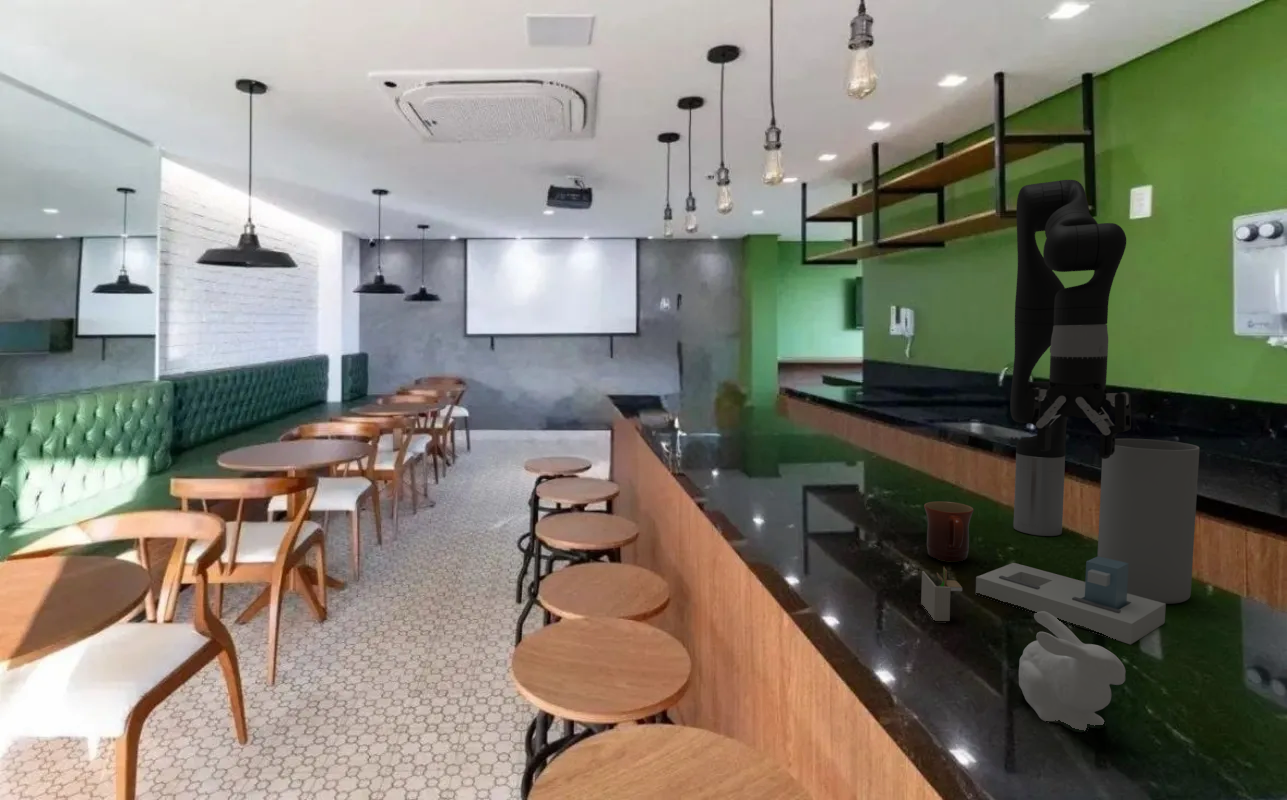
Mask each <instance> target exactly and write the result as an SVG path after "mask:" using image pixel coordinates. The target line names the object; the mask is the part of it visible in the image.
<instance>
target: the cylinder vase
mask: <svg viewBox="0 0 1287 800" xmlns="http://www.w3.org/2000/svg"><path fill="white" fill-rule="evenodd" d="M1199 462H1200V447H1199V445H1195V444H1190V443H1186V442H1185V443H1184V442H1178V441H1170V440H1162V439H1161V440H1160V439H1148V438H1147V439H1144V438H1115V452H1114V453H1113V455H1110V457H1109V458H1107V459H1102V458H1101V475H1100V477H1101V478H1100V493H1099V494H1100V497H1099V499H1100V500H1099V501H1100V502H1099V520H1098V537H1097V556H1099V557H1104V558H1108V559H1112V560H1116V561H1121V562H1125V563H1129V566H1128V585H1127V593H1128V594H1132V595H1135V596H1139V597H1143V598H1147V599H1150V600H1154V601H1158V602H1161V603H1165V604H1166V605H1168V604H1169V605H1170V604H1171V605H1172V604H1173V605H1174V604H1181V603H1184V602H1187V601H1188V600H1189V599H1190V597H1191V595H1192V593H1191V592H1192V576H1193V564H1194V563H1193V561H1194V559H1193V558H1194V546H1195V545H1194V544H1195V526H1196V513H1197V512H1196V511H1197V498H1198V497H1197V496H1198V478H1199V464H1200V463H1199Z"/></svg>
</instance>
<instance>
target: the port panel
mask: <svg viewBox="0 0 1287 800" xmlns="http://www.w3.org/2000/svg"><path fill="white" fill-rule="evenodd" d="M976 593H980V594H982V595H986V596H989V597H992V598H995V599H998V600H1000V601H1003V602H1008V603H1011V604H1014V605H1018V606H1021V607H1024V608H1027V609H1029V610H1032V611H1035V612H1041V611H1045V612H1048V613H1050V614H1051V615H1053V616H1054V617H1056V618H1059V619H1061V620H1064V621H1067V622H1070V623H1073V624H1076V625H1080V626H1084V627H1086V628H1089V629H1091V630H1094V631H1096V632H1099V633H1102V634H1104V635H1106V636H1108V637H1107V638H1109V637H1110V638H1109V639H1112V638H1113V640H1115V639H1116V641H1119V642H1122V643H1125V644H1128V645H1133V644H1134V643H1136V642H1137V641H1138V640H1140V639H1142V638H1143V637H1146V636H1147V635H1148V634H1150V633H1152V632H1153V631H1154V630H1156V629H1157V628H1159V627H1161V626H1163V625H1164V624H1165V621H1166V606H1167V604H1165V603H1161V602H1158V601H1154V600H1150V599H1147V598H1143V597H1139V596H1135V595H1132V594H1128V593H1127V604H1126V606H1125V607H1123V608H1121V609H1115V608H1112V607H1108V606H1105V605H1101V604H1098V603H1095V602H1091V601H1088V600H1085V581H1083V580H1080V579H1079V580H1078V579H1077V578H1076V579H1075V578H1072V577H1068V576H1065V575H1061V574H1056V573H1054V572H1050V571H1046V570H1042V569H1038V568H1035V567H1031V566H1027V565H1023V564H1019V563H1018V562H1017V563H1016V562H1012V563H1009V564H1006V565H1003V566H1002V567H999V568H996V569H993V570H991V571H988V572H986V573H983V574H981V575H977V576H976V577H975V594H976ZM1106 636H1105V637H1106Z"/></svg>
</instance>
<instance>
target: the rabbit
mask: <svg viewBox="0 0 1287 800" xmlns="http://www.w3.org/2000/svg"><path fill="white" fill-rule="evenodd" d="M1033 617H1034V620H1035V621H1036V622H1037V623H1038V624H1040V625H1041V626H1043V627H1045V628H1046V629H1048V630H1049V631H1050V632H1051V633H1052V634H1053V635H1052V634H1051V633H1048V632H1045V631H1039V632H1037V633H1036V636H1035V637H1036V638H1035V639H1036V640H1033V641H1031V642H1030V643H1028V645H1026V647H1025V648H1024V649H1023V651H1022V655H1021V656H1020V658H1019V661H1018V662H1019V667H1018V686H1019V688H1020V689H1021V691H1022V694H1023V696H1024V697H1023V698H1024V699H1025V701H1026V703H1028V705H1029V706H1030V707H1031V708H1032V709H1033V710H1034V711H1035V713H1036V714H1037V716H1038V717H1039V719H1041V720H1042V721H1044V722H1046V721H1055V720H1056V721H1058V720H1060V721H1061V722H1064V723H1066V724H1068V725H1070V726H1071V727H1072V728H1075V729H1079V730H1084V731H1085V730H1086V728H1087V724H1090V725H1094V726H1095V725H1103V724H1104V722H1105V720H1104V718H1103V717H1102V716H1101V715H1099V714H1097V713H1096V712H1098V711H1101V710H1103V709H1105V708H1106V707H1107V706H1108V705H1109V704H1110V703H1111V700H1112V689H1111V687H1110V685H1114V686H1115V685H1116V686H1119V685H1122V684H1123V683H1125V682H1126V667H1125V665H1124V664H1123V662H1122V661H1121V659H1119V658H1118V657H1117V655H1116V654H1114V653H1113V652H1111V651H1110V650H1108V649H1106V648H1105V647H1103V646H1101V645H1098V644H1094V643H1093V644H1092V643H1084V642H1082V641H1081V640H1080V639H1079V638H1078V637H1077V636H1076V635H1075V633H1074V632H1073V631H1072V630H1071V629H1069V627H1067V625H1065V623H1063V622H1061V621H1059V620H1058V619H1057V618H1056V617H1054V616H1053V615H1051V614H1050V613H1048V612H1045V611H1041V612H1037V613H1033Z"/></svg>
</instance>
